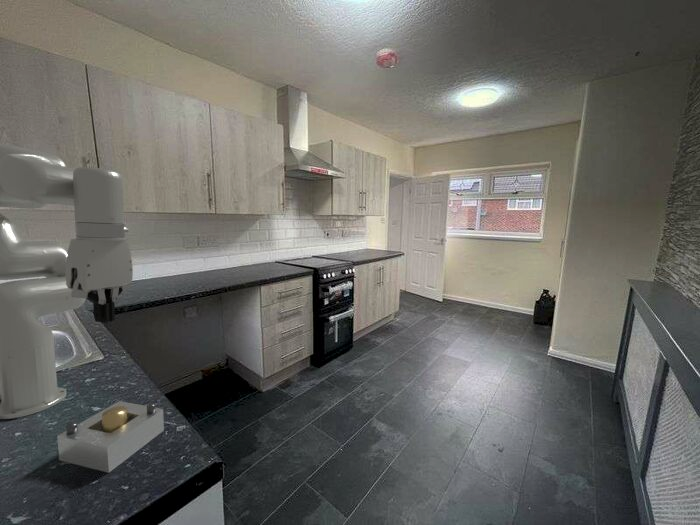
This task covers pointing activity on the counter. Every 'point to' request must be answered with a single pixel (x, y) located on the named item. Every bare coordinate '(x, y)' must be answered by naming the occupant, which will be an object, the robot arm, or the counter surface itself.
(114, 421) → the brass cylinder
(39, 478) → the counter surface
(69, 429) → the jig
